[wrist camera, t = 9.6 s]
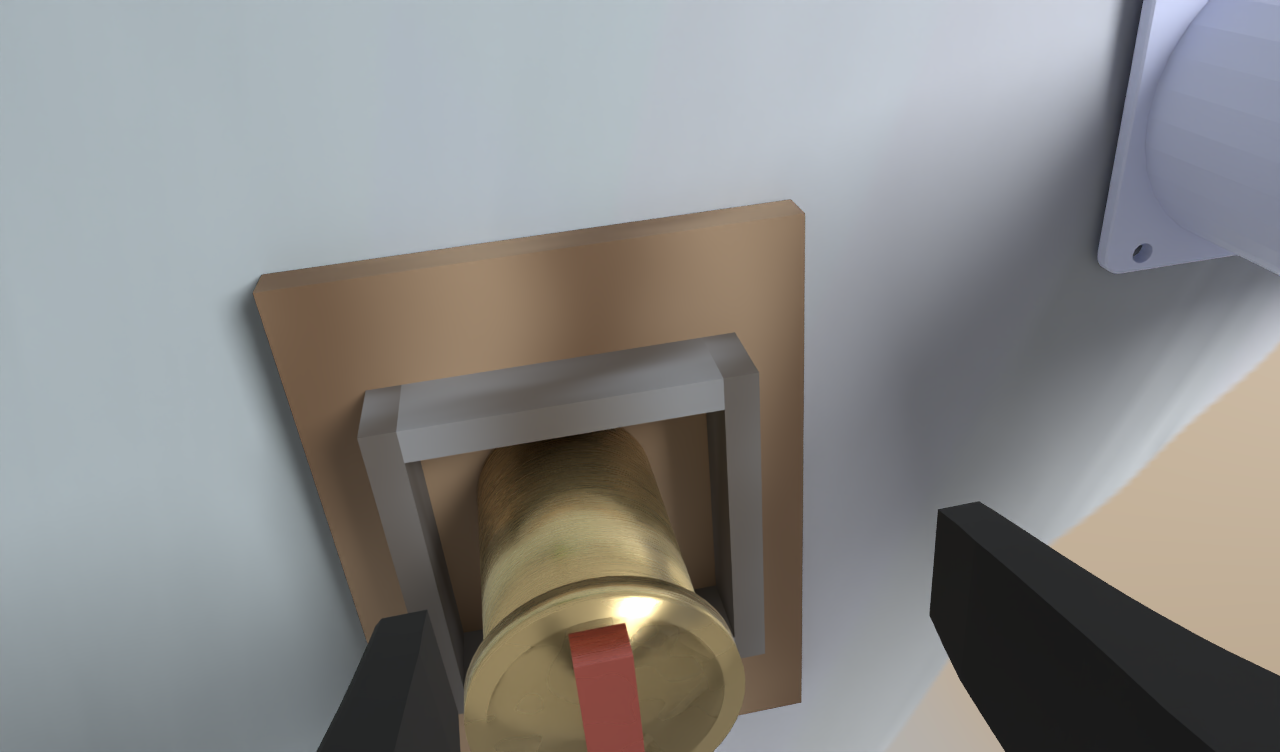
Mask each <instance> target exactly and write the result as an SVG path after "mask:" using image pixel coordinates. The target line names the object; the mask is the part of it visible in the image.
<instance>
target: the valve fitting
mask: <svg viewBox="0 0 1280 752" xmlns="http://www.w3.org/2000/svg"><path fill="white" fill-rule="evenodd" d="M477 505H478V528H479V551H480V574H481V597H482V620H483V641H482V643H481V644H480V646H479V647H478V649H477V651H476V652H475V654H474V656H473V658H472V660H471V663H470V665H469V668H468V670H467V674H466V679H465V684H464V727H465V733H466V739H467V741H468V744H469V747H470V749H471V751H472V752H713V751H714V750H715V749H716V748H717V747H718V746H719V745H720V744H721V742H722V741H723V740H724V738H725V737H726V736H727V734H728V733H729V732H730V730H731V728H732V727H733V725H734V723H735V721H736V719H737V717H738V715H739V712H740V709H741V707H742V703H743V699H744V694H745V673H744V666H743V663H742V660H741V657H740V654H739V652H738V649H737V646H736V644H735V641H734V638H733V636H732V633H731V631H730V629H729V627H728V625H727V624H726V622H725V620H724V619H723V617H722V616H721V615H720V614H719V612H718V611H717V610H716V609H715V608H714V607H713V606H712V605H711V604H709V603H708V602H707V601H706V600H705V599H703V598H702V597H700V596H699V595H697V594H696V593H695V591H694V589H693V586H692V583H691V580H690V577H689V574H688V571H687V568H686V566H685V563H684V560H683V557H682V554H681V551H680V548H679V546H678V543H677V540H676V537H675V534H674V531H673V528H672V525H671V523H670V520H669V517H668V514H667V511H666V508H665V505H664V503H663V500H662V497H661V494H660V491H659V488H658V485H657V482H656V480H655V477H654V474H653V471H652V468H651V465H650V462H649V459H648V457H647V455H646V453H645V451H644V449H643V447H642V446H641V445H640V443H639V442H638V441H637V440H636V439H635V438H634V437H633V436H632V435H631V434H630V433H629V432H628V431H626V430H625V429H624V428H622V427H619V428H613V429H607V430H601V431H595V432H589V433H583V434H577V435H571V436H565V437H559V438H553V439H547V440H541V441H535V442H529V443H523V444H517V445H511V446H505V447H499V448H494V449H493V451H492V452H491V454H490V455H489V456H488V458H487V460H486V462H485V463H484V465H483V467H482V470H481V473H480V476H479V481H478V486H477Z"/></svg>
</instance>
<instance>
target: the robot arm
mask: <svg viewBox="0 0 1280 752" xmlns="http://www.w3.org/2000/svg"><path fill="white" fill-rule="evenodd" d="M1139 245H1142V248H1141V250H1140V252H1139V253H1138V254H1137V255H1135V256H1133V253H1134V251H1135V249H1136V248H1137V247H1138V246H1139ZM1097 255H1098V262H1099V264H1100V266H1101V267H1103V268H1105V269H1106V270H1108V271H1110V272H1111V273H1116V274H1121V273H1127V272H1133V271H1140V270H1146V269H1152V268H1159V267H1165V266H1171V265H1178V264H1184V263H1190V262H1197V261H1203V260H1209V259H1216V258H1222V257H1228V256H1235V255H1238V256H1240V257H1242V258H1244V259H1247V260H1249V261H1251V262H1253V263H1255V264H1257V265H1259V266H1261V267H1263V268H1265V269H1267V270H1269V271H1271V272H1273V273H1275V274H1277V275H1279V276H1280V0H1143V6H1142V11H1141V17H1140V22H1139V28H1138V33H1137V39H1136V44H1135V50H1134V55H1133V61H1132V66H1131V72H1130V77H1129V83H1128V88H1127V94H1126V99H1125V105H1124V110H1123V116H1122V121H1121V127H1120V132H1119V138H1118V144H1117V149H1116V155H1115V160H1114V166H1113V171H1112V177H1111V182H1110V188H1109V193H1108V199H1107V204H1106V210H1105V215H1104V221H1103V226H1102V232H1101V237H1100V243H1099V248H1098V254H1097ZM930 617H931V620H932V622H933V624H934V626H935V628H936V631H937V633H938V635H939V637H940V639H941V641H942V644H943V646H944V648H945V650H946V652H947V654H948V656H949V658H950V660H951V662H952V665H953V667H954V669H955V670H956V673H957V675H958V677H959V679H960V681H961V682H962V684H963V685H964V687H965V689H966V690H967V692H968V694H969V695H970V697H971V698H972V700H973V702H974V703H975V704H976V706H977V708H978V710H979V711H980V713H981V714H982V716H983V717H984V719H985V721H986V722H987V724H988V725H989V727H990V729H991V730H992V732H993V733H994V735H995V736H996V738H997V740H998V741H999V743H1000V744H1001V746H1002V747H1003V749H1004V750H1005V752H1280V676H1279V675H1277V674H1275V673H1273V672H1271V671H1268V670H1266V669H1264V668H1262V667H1260V666H1258V665H1256V664H1254V663H1252V662H1250V661H1248V660H1246V659H1243V658H1241V657H1239V656H1237V655H1235V654H1233V653H1231V652H1229V651H1227V650H1225V649H1223V648H1221V647H1219V646H1217V645H1215V644H1213V643H1211V642H1209V641H1208V640H1206V639H1204V638H1202V637H1200V636H1198V635H1196V634H1194V633H1192V632H1191V631H1189V630H1187V629H1185V628H1184V627H1182V626H1180V625H1178V624H1176V623H1174V622H1173V621H1171V620H1169V619H1167V618H1166V617H1164V616H1162V615H1160V614H1158V613H1156V612H1155V611H1153V610H1151V609H1149V608H1148V607H1146V606H1144V605H1143V604H1141V603H1139V602H1138V601H1136V600H1134V599H1132V598H1131V597H1129V596H1127V595H1125V594H1124V593H1122V592H1121V591H1119V590H1117V589H1116V588H1114V587H1112V586H1111V585H1109V584H1107V583H1106V582H1104V581H1102V580H1101V579H1099V578H1098V577H1096V576H1094V575H1093V574H1091V573H1090V572H1088V571H1087V570H1085V569H1083V568H1082V567H1080V566H1079V565H1077V564H1076V563H1074V562H1072V561H1071V560H1069V559H1068V558H1066V557H1065V556H1063V555H1061V554H1060V553H1058V552H1057V551H1055V550H1054V549H1052V548H1051V547H1049V546H1048V545H1046V544H1044V543H1043V542H1041V541H1040V540H1038V539H1037V538H1035V537H1034V536H1032V535H1031V534H1029V533H1028V532H1026V531H1025V530H1023V529H1021V528H1020V527H1018V526H1017V525H1015V524H1014V523H1012V522H1011V521H1009V520H1008V519H1006V518H1005V517H1003V516H1001V515H1000V514H998V513H997V512H995V511H994V510H992V509H990V508H989V507H987V506H986V505H984V504H982V503H981V502H974V503H969V504H963V505H958V506H953V507H948V508H943V509H938V517H937V529H936V541H935V554H934V566H933V578H932V591H931V603H930ZM317 752H461V751H460V733H459V715H458V710H457V707H456V703H455V700H454V697H453V694H452V690H451V687H450V684H449V680H448V677H447V674H446V670H445V667H444V664H443V660H442V657H441V654H440V650H439V647H438V644H437V640H436V637H435V634H434V630H433V627H432V624H431V620H430V617H429V614H428V610H422V611H417V612H412V613H407V614H402V615H397V616H392V617H387V618H382V619H381V620H380V621H379V622H378V624H377V625H376V626H375V628H374V630H373V633H372V635H371V638H370V640H369V643H368V645H367V647H366V650H365V652H364V654H363V657H362V659H361V661H360V663H359V666H358V668H357V670H356V672H355V675H354V677H353V679H352V681H351V683H350V685H349V687H348V690H347V692H346V694H345V696H344V698H343V700H342V702H341V704H340V706H339V709H338V711H337V713H336V714H335V716H334V718H333V720H332V722H331V724H330V726H329V728H328V730H327V732H326V734H325V736H324V738H323V740H322V742H321V744H320V746H319V748H318V750H317Z"/></svg>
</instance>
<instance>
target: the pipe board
mask: <svg viewBox="0 0 1280 752" xmlns="http://www.w3.org/2000/svg"><path fill="white" fill-rule="evenodd" d="M804 280H805V213H804V212H803V211H802V210H801V209H800V208H799V207H798V206H797V205H796V204H795V203H794V202H793V201H792V200H784V201H776V202H769V203H762V204H755V205H748V206H741V207H734V208H727V209H720V210H713V211H706V212H699V213H692V214H685V215H678V216H671V217H664V218H657V219H650V220H643V221H636V222H629V223H622V224H615V225H608V226H601V227H594V228H587V229H580V230H573V231H566V232H559V233H551V234H544V235H537V236H530V237H523V238H516V239H509V240H502V241H495V242H488V243H481V244H474V245H467V246H460V247H453V248H446V249H439V250H432V251H425V252H418V253H411V254H404V255H397V256H390V257H383V258H376V259H369V260H362V261H355V262H348V263H341V264H333V265H326V266H319V267H312V268H305V269H298V270H291V271H284V272H277V273H270V274H263V275H261V277H260V279H259V281H258V283H257V285H256V287H255V289H254V291H253V295H254V299H255V302H256V305H257V308H258V311H259V314H260V317H261V320H262V323H263V326H264V329H265V332H266V335H267V338H268V341H269V344H270V347H271V350H272V353H273V357H274V360H275V363H276V366H277V369H278V372H279V375H280V378H281V381H282V384H283V387H284V390H285V393H286V396H287V399H288V402H289V405H290V408H291V411H292V415H293V418H294V421H295V424H296V427H297V430H298V433H299V436H300V439H301V442H302V445H303V448H304V451H305V454H306V457H307V460H308V463H309V466H310V469H311V472H312V476H313V479H314V482H315V485H316V488H317V491H318V494H319V497H320V500H321V503H322V506H323V509H324V512H325V515H326V518H327V521H328V524H329V527H330V530H331V534H332V537H333V540H334V543H335V546H336V549H337V552H338V555H339V558H340V561H341V564H342V567H343V570H344V573H345V576H346V579H347V582H348V585H349V588H350V591H351V595H352V598H353V601H354V604H355V607H356V610H357V613H358V616H359V619H360V622H361V625H362V628H363V631H364V634H365V637H366V640H367V643H369V640H370V638H371V635H372V633H373V630H374V628H375V626H376V625H377V624H378V622H379V621H380V620H381V619H382V618H387V617H392V616H397V615H402V614H407V613H412V612H417V611H422V610H428V614H429V617H430V620H431V624H432V627H433V630H434V634H435V637H436V640H437V644H438V647H439V650H440V654H441V657H442V660H443V664H444V667H445V670H446V674H447V677H448V680H449V684H450V687H451V690H452V694H453V697H454V700H455V703H456V707H457V710H458V715H459V733H460V751H461V752H472V751H471V749H470V747H469V744H468V741H467V739H466V733H465V727H464V684H465V679H466V674H467V670H468V668H469V665H470V663H471V660H472V658H473V656H474V654H475V652H476V651H477V649H478V647H479V646H480V644H481V643H482V641H483V620H482V597H481V574H480V551H479V528H478V505H477V486H478V481H479V476H480V473H481V470H482V467H483V465H484V463H485V462H486V460H487V458H488V456H489V455H490V454H491V452H492V451H493V449H494V448H499V447H505V446H511V445H517V444H523V443H529V442H535V441H541V440H547V439H553V438H559V437H565V436H571V435H577V434H583V433H589V432H595V431H601V430H607V429H613V428H619V427H622V428H624V429H625V430H626V431H628V432H629V433H630V434H631V435H632V436H633V437H634V438H635V439H636V440H637V441H638V442H639V443H640V445H641V446H642V447H643V449H644V451H645V453H646V455H647V457H648V459H649V462H650V465H651V468H652V471H653V474H654V477H655V480H656V482H657V485H658V488H659V491H660V494H661V497H662V500H663V503H664V505H665V508H666V511H667V514H668V517H669V520H670V523H671V525H672V528H673V531H674V534H675V537H676V540H677V543H678V546H679V548H680V551H681V554H682V557H683V560H684V563H685V566H686V568H687V571H688V574H689V577H690V580H691V583H692V586H693V589H694V591H695V593H696V594H697V595H699V596H700V597H702V598H703V599H705V600H706V601H707V602H708V603H709V604H711V605H712V606H713V607H714V608H715V609H716V610H717V611H718V612H719V614H720V615H721V616H722V617H723V619H724V620H725V622H726V624H727V625H728V627H729V629H730V631H731V633H732V636H733V638H734V641H735V644H736V646H737V649H738V652H739V654H740V657H741V660H742V663H743V666H744V673H745V694H744V699H743V703H742V707H741V709H740V712H739V715H742V714H747V713H752V712H757V711H762V710H767V709H772V708H776V707H781V706H786V705H791V704H796V703H801V678H802V546H803V413H804Z"/></svg>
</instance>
